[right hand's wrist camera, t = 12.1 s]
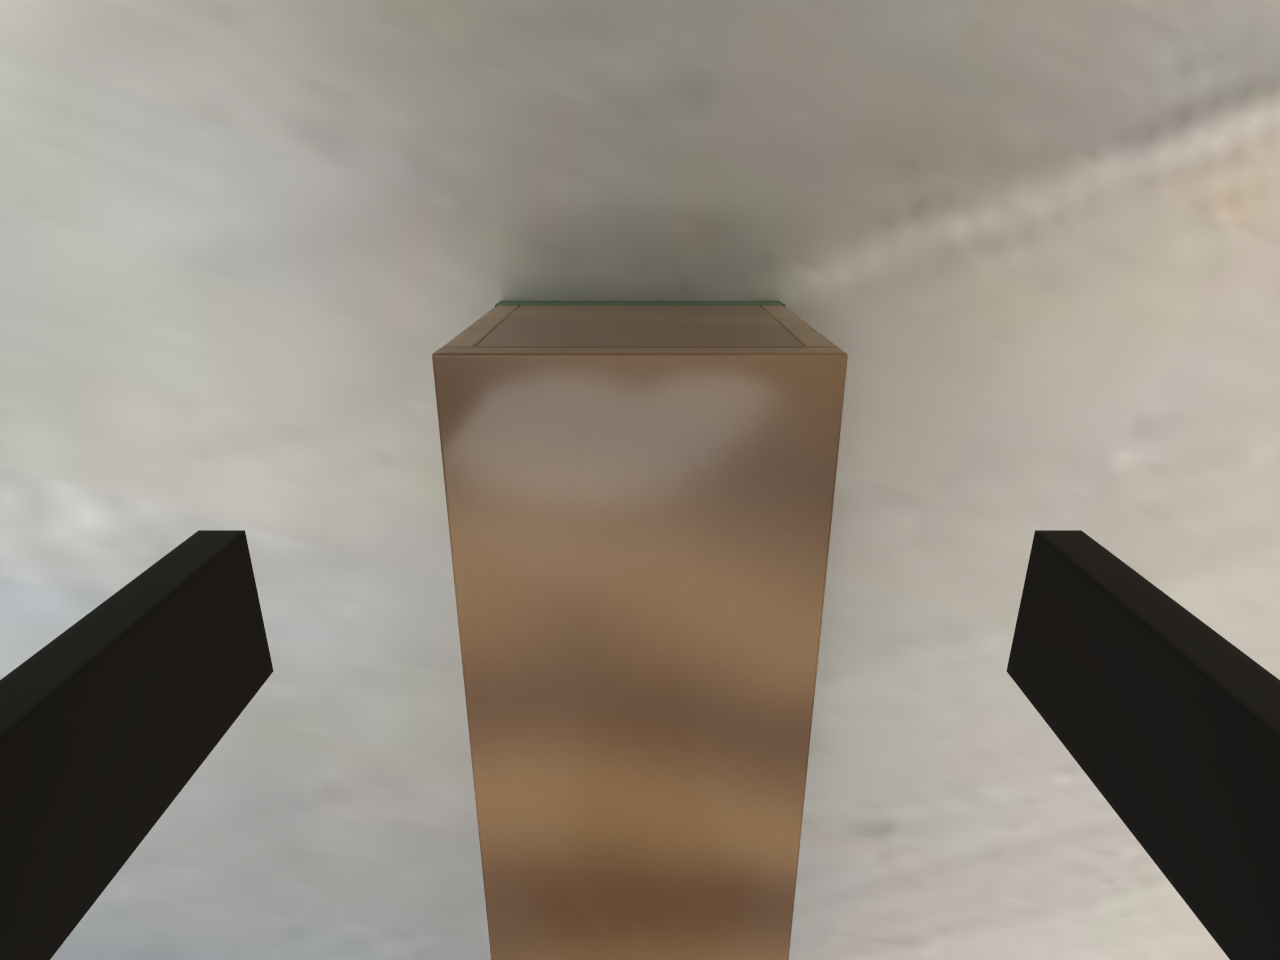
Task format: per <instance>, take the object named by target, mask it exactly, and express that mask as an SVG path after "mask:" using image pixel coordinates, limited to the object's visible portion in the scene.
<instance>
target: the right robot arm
mask: <svg viewBox="0 0 1280 960" xmlns="http://www.w3.org/2000/svg"><path fill="white" fill-rule="evenodd" d="M272 672H273V667H272V662H271V657H270V653H269V648H268V643H267V638H266V633H265V628H264V623H263V618H262V613H261V608H260V603H259V598H258V593H257V588H256V583H255V579H254V574H253V569H252V564H251V559H250V554H249V549H248V544H247V539H246V534H245V531H197V532H196V533H195V534H194V535H192V536H191V537H190V538H188V539H187V540H186V541H184V542H183V543H182V544H180V545H179V546H178V547H176V548H175V549H174V550H172V551H171V552H170V553H168V554H167V555H166V556H164V557H163V558H162V559H160V560H159V561H158V562H156V563H155V564H154V565H152V566H151V567H150V568H148V569H147V570H146V571H144V572H143V573H142V574H141V575H139V576H138V577H137V578H135V579H134V580H133V581H131V582H130V583H129V584H127V585H126V586H125V587H123V588H122V589H121V590H119V591H118V592H117V593H115V594H114V595H113V596H111V597H110V598H109V599H107V600H106V601H105V602H103V603H102V604H101V605H99V606H98V607H97V608H95V609H94V610H93V611H91V612H90V613H89V614H88V615H86V616H85V617H84V618H82V619H81V620H80V621H78V622H77V623H76V624H74V625H73V626H72V627H70V628H69V629H68V630H66V631H65V632H64V633H62V634H61V635H60V636H58V637H57V638H56V639H54V640H53V641H52V642H50V643H49V644H48V645H46V646H45V647H44V648H42V649H41V650H40V651H38V652H37V653H36V654H34V655H33V656H32V657H31V658H29V659H28V660H27V661H25V662H24V663H23V664H21V665H20V666H19V667H17V668H16V669H15V670H13V671H12V672H11V673H9V674H8V675H7V676H5V677H4V678H3V679H1V680H0V960H50V959H51V958H52V956H53V955H54V954H55V952H56V951H57V950H58V949H59V947H60V946H61V945H62V943H63V942H64V941H65V940H66V938H67V937H68V936H69V934H70V933H71V932H72V930H73V929H74V928H75V927H76V925H77V924H78V923H79V921H80V920H81V919H82V918H83V916H84V915H85V914H86V912H87V911H88V910H89V909H90V907H91V906H92V905H93V903H94V902H95V901H96V899H97V898H98V897H99V896H100V894H101V893H102V892H103V890H104V889H105V888H106V887H107V885H108V884H109V883H110V881H111V880H112V879H113V878H114V876H115V875H116V874H117V872H118V871H119V870H120V868H121V867H122V866H123V865H124V863H125V862H126V861H127V859H128V858H129V857H130V856H131V854H132V853H133V852H134V850H135V849H136V848H137V847H138V845H139V844H140V843H141V841H142V840H143V839H144V837H145V836H146V835H147V834H148V832H149V831H150V830H151V828H152V827H153V826H154V825H155V823H156V822H157V821H158V819H159V818H160V817H161V816H162V814H163V813H164V812H165V810H166V809H167V808H168V807H169V805H170V804H171V803H172V801H173V800H174V799H175V797H176V796H177V795H178V794H179V792H180V791H181V790H182V788H183V787H184V786H185V785H186V783H187V782H188V781H189V779H190V778H191V777H192V776H193V774H194V773H195V772H196V770H197V769H198V768H199V766H200V765H201V764H202V763H203V761H204V760H205V759H206V757H207V756H208V755H209V754H210V752H211V751H212V750H213V748H214V747H215V746H216V745H217V743H218V742H219V741H220V739H221V738H222V737H223V735H224V734H225V733H226V732H227V730H228V729H229V728H230V726H231V725H232V724H233V723H234V721H235V720H236V719H237V717H238V716H239V715H240V714H241V712H242V711H243V710H244V708H245V707H246V706H247V704H248V703H249V702H250V701H251V699H252V698H253V697H254V695H255V694H256V693H257V692H258V690H259V689H260V688H261V686H262V685H263V684H264V683H265V681H266V680H267V679H268V677H269V676H270V675H271V673H272ZM1007 672H1008V673H1009V675H1010V676H1011V677H1012V679H1013V680H1014V681H1015V683H1016V684H1017V685H1018V686H1019V688H1020V689H1021V690H1022V692H1023V693H1024V694H1025V695H1026V697H1027V698H1028V699H1029V701H1030V702H1031V703H1032V704H1033V706H1034V707H1035V708H1036V710H1037V711H1038V712H1039V714H1040V715H1041V716H1042V717H1043V719H1044V720H1045V721H1046V723H1047V724H1048V725H1049V726H1050V728H1051V729H1052V730H1053V732H1054V733H1055V734H1056V735H1057V737H1058V738H1059V739H1060V741H1061V742H1062V743H1063V745H1064V746H1065V747H1066V748H1067V750H1068V751H1069V752H1070V754H1071V755H1072V756H1073V757H1074V759H1075V760H1076V761H1077V763H1078V764H1079V765H1080V766H1081V768H1082V769H1083V770H1084V772H1085V773H1086V774H1087V776H1088V777H1089V778H1090V779H1091V781H1092V782H1093V783H1094V785H1095V786H1096V787H1097V788H1098V790H1099V791H1100V792H1101V794H1102V795H1103V796H1104V797H1105V799H1106V800H1107V801H1108V803H1109V804H1110V805H1111V807H1112V808H1113V809H1114V810H1115V812H1116V813H1117V814H1118V816H1119V817H1120V818H1121V819H1122V821H1123V822H1124V823H1125V825H1126V826H1127V827H1128V828H1129V830H1130V831H1131V832H1132V834H1133V835H1134V836H1135V837H1136V839H1137V840H1138V841H1139V843H1140V844H1141V845H1142V847H1143V848H1144V849H1145V850H1146V852H1147V853H1148V854H1149V856H1150V857H1151V858H1152V859H1153V861H1154V862H1155V863H1156V865H1157V866H1158V867H1159V868H1160V870H1161V871H1162V872H1163V874H1164V875H1165V876H1166V878H1167V879H1168V880H1169V881H1170V883H1171V884H1172V885H1173V887H1174V888H1175V889H1176V890H1177V892H1178V893H1179V894H1180V896H1181V897H1182V898H1183V899H1184V901H1185V902H1186V903H1187V905H1188V906H1189V907H1190V909H1191V910H1192V911H1193V912H1194V914H1195V915H1196V916H1197V918H1198V919H1199V920H1200V921H1201V923H1202V924H1203V925H1204V927H1205V928H1206V929H1207V930H1208V932H1209V933H1210V934H1211V936H1212V937H1213V938H1214V940H1215V941H1216V942H1217V943H1218V945H1219V946H1220V947H1221V949H1222V950H1223V951H1224V952H1225V954H1226V955H1227V956H1228V958H1229V959H1230V960H1280V680H1279V679H1277V678H1276V677H1275V676H1273V675H1272V674H1271V673H1269V672H1268V671H1267V670H1265V669H1264V668H1263V667H1261V666H1260V665H1259V664H1257V663H1256V662H1255V661H1253V660H1252V659H1251V658H1249V657H1248V656H1247V655H1246V654H1244V653H1243V652H1242V651H1240V650H1239V649H1238V648H1236V647H1235V646H1234V645H1232V644H1231V643H1230V642H1228V641H1227V640H1226V639H1224V638H1223V637H1222V636H1220V635H1219V634H1218V633H1216V632H1215V631H1214V630H1212V629H1211V628H1210V627H1208V626H1207V625H1206V624H1204V623H1203V622H1202V621H1200V620H1199V619H1198V618H1196V617H1195V616H1194V615H1192V614H1191V613H1190V612H1189V611H1187V610H1186V609H1185V608H1183V607H1182V606H1181V605H1179V604H1178V603H1177V602H1175V601H1174V600H1173V599H1171V598H1170V597H1169V596H1167V595H1166V594H1165V593H1163V592H1162V591H1161V590H1159V589H1158V588H1157V587H1155V586H1154V585H1153V584H1151V583H1150V582H1149V581H1147V580H1146V579H1145V578H1143V577H1142V576H1141V575H1139V574H1138V573H1137V572H1136V571H1134V570H1133V569H1132V568H1130V567H1129V566H1128V565H1126V564H1125V563H1124V562H1122V561H1121V560H1120V559H1118V558H1117V557H1116V556H1114V555H1113V554H1112V553H1110V552H1109V551H1108V550H1106V549H1105V548H1104V547H1102V546H1101V545H1100V544H1098V543H1097V542H1096V541H1094V540H1093V539H1092V538H1090V537H1089V536H1088V535H1086V534H1085V533H1084V532H1083V531H1035V534H1034V539H1033V544H1032V549H1031V554H1030V559H1029V564H1028V569H1027V574H1026V579H1025V583H1024V588H1023V593H1022V598H1021V603H1020V608H1019V613H1018V618H1017V623H1016V628H1015V633H1014V638H1013V643H1012V648H1011V653H1010V657H1009V662H1008V667H1007Z"/></svg>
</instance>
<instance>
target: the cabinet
mask: <svg viewBox="0 0 1280 960" xmlns="http://www.w3.org/2000/svg"><path fill="white" fill-rule="evenodd" d="M847 357H848V356H847V353H845V352H844V351H843V350H841V349H840V348H838V347H837V346H836V345H834V344H833V343H832V342H830V341H829V340H828V339H826V338H825V337H824V336H822V335H821V334H820V333H819V332H817V331H816V330H815V329H813V328H812V327H811V326H809V325H808V324H807V323H805V322H804V321H803V320H801V319H800V318H799V317H798V316H796V315H795V314H794V313H792V312H791V311H790V310H788V309H787V308H786V307H785V305H784V304H783V303H781V302H780V301H500V302H499V303H497V304H496V305H495V308H493V309H492V310H491V311H489V312H488V313H487V314H485V315H484V316H483V317H481V318H480V319H479V320H477V321H476V322H475V323H473V324H472V325H471V326H470V327H468V328H467V329H466V330H464V331H463V332H462V333H460V334H459V335H458V336H456V337H455V338H454V339H452V340H451V341H450V342H449V343H447V344H446V345H445V346H443V347H442V348H440V349H439V350H437V351H436V352H435V353H433V355H432V359H433V369H434V379H435V390H436V400H437V410H438V420H439V430H440V441H441V451H442V461H443V471H444V481H445V492H446V502H447V512H448V522H449V532H450V543H451V553H452V563H453V573H454V583H455V594H456V604H457V614H458V624H459V634H460V645H461V655H462V665H463V675H464V685H465V696H466V706H467V716H468V726H469V736H470V747H471V757H472V767H473V777H474V787H475V798H476V808H477V818H478V828H479V838H480V849H481V859H482V869H483V879H484V890H485V900H486V910H487V920H488V930H489V941H490V951H491V960H788V959H789V949H790V939H791V929H792V918H793V908H794V898H795V888H796V878H797V867H798V857H799V847H800V837H801V827H802V816H803V806H804V796H805V786H806V776H807V765H808V755H809V745H810V735H811V725H812V714H813V704H814V694H815V684H816V674H817V663H818V653H819V643H820V633H821V623H822V612H823V602H824V592H825V582H826V572H827V561H828V551H829V541H830V531H831V521H832V510H833V500H834V490H835V480H836V470H837V459H838V449H839V439H840V429H841V419H842V408H843V398H844V388H845V378H846V368H847Z"/></svg>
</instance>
